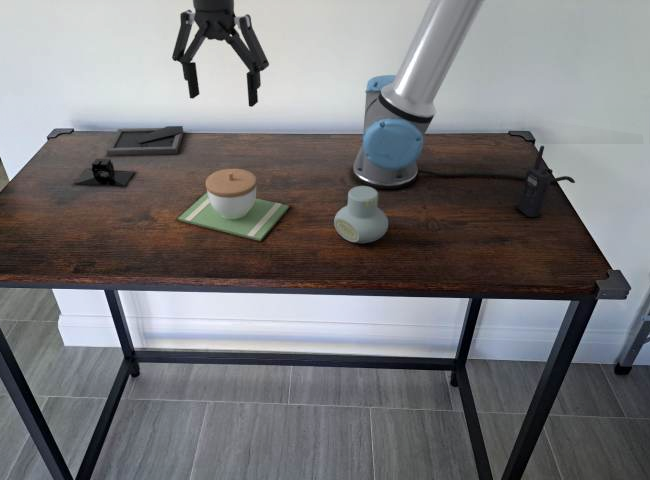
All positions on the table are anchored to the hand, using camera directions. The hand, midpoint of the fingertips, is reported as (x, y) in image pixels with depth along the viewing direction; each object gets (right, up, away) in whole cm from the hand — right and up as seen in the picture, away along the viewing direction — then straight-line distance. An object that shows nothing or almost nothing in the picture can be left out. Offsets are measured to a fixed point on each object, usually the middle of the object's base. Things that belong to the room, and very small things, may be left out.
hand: (223, 100), depth 114 cm
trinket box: (+1, -22, +8) cm, 23 cm away
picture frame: (-25, 0, +36) cm, 44 cm away
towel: (+1, -22, +8) cm, 24 cm away
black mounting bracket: (-31, -12, +22) cm, 40 cm away
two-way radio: (+66, -22, +7) cm, 70 cm away
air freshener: (+28, -28, +1) cm, 40 cm away
